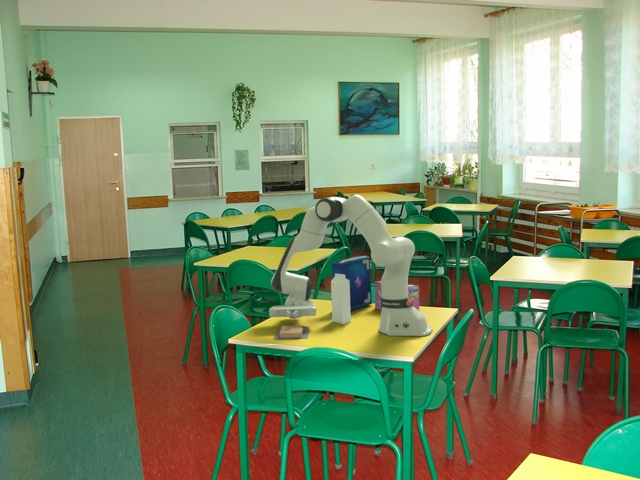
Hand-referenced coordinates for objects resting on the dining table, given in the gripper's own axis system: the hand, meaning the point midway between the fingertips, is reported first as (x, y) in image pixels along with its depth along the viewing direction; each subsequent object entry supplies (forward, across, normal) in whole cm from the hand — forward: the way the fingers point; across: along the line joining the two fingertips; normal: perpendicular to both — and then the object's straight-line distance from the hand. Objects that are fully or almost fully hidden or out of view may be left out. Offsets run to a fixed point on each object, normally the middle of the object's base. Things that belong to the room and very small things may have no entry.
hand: (291, 315), depth 273 cm
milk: (-18, +21, +8) cm, 28 cm away
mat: (+2, 0, +8) cm, 8 cm away
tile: (-3, 0, +6) cm, 7 cm away
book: (-46, +26, +8) cm, 54 cm away
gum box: (-38, +48, +8) cm, 62 cm away
